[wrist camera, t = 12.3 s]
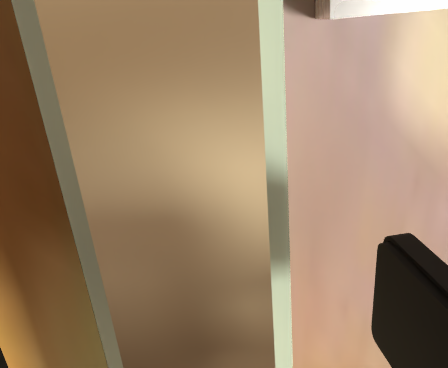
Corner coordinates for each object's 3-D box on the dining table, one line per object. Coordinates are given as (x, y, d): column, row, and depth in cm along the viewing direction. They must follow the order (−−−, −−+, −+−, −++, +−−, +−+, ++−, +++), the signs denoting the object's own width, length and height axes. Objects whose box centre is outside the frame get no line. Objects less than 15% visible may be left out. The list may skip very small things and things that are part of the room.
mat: (-40, -229, 8) (-55, -247, 7) (268, -239, 8) (275, -257, 8) (149, 507, 17) (149, 523, 16) (291, 477, 17) (296, 492, 17)
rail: (40, -220, 8) (-74, -441, 4) (201, -225, 8) (236, -436, 4) (185, 506, 16) (192, 650, 12) (259, 491, 16) (287, 627, 13)
